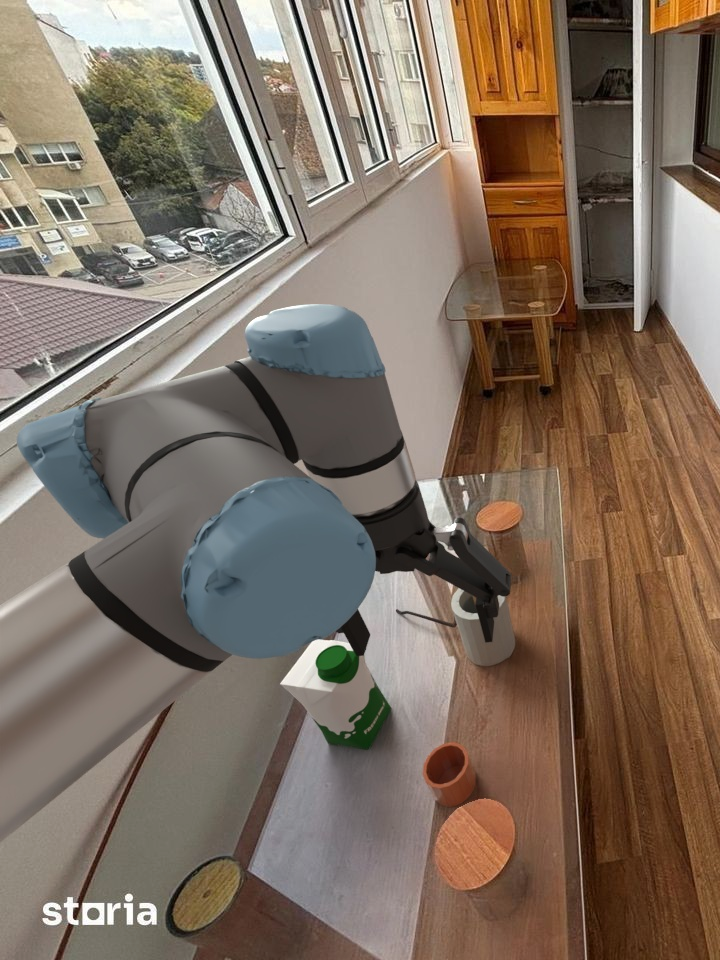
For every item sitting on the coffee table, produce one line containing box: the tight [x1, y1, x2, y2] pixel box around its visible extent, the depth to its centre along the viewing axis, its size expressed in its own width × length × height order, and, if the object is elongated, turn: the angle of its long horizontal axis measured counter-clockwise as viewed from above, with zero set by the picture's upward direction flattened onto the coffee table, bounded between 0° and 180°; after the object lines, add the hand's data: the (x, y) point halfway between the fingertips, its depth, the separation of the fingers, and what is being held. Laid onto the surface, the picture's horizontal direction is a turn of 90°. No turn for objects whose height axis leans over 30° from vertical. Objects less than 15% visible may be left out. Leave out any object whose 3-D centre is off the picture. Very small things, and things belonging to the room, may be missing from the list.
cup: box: [450, 588, 516, 667], centre depth 92 cm, size 9×9×14 cm
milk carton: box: [279, 639, 392, 751], centre depth 78 cm, size 9×9×20 cm
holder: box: [422, 741, 477, 808], centre depth 75 cm, size 6×6×7 cm
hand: (427, 638), depth 57 cm, fingers open, 13 cm apart
